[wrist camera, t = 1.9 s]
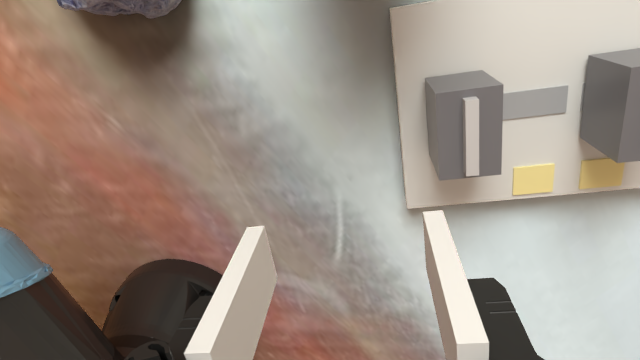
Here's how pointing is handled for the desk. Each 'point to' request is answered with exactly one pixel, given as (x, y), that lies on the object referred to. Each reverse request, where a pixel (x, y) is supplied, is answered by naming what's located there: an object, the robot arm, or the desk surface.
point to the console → (512, 91)
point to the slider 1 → (465, 124)
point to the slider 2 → (613, 104)
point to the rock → (122, 6)
